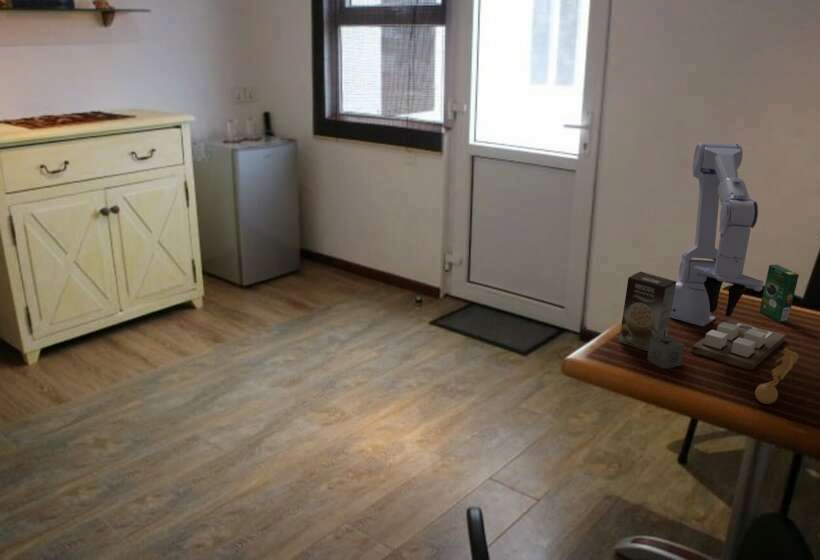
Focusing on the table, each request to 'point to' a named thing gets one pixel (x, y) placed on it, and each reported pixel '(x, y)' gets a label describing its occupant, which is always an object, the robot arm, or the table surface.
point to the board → (726, 356)
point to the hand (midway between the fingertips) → (720, 313)
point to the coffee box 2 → (778, 293)
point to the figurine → (776, 378)
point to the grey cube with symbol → (665, 352)
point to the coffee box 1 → (646, 309)
